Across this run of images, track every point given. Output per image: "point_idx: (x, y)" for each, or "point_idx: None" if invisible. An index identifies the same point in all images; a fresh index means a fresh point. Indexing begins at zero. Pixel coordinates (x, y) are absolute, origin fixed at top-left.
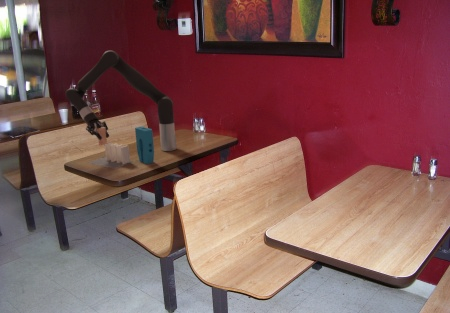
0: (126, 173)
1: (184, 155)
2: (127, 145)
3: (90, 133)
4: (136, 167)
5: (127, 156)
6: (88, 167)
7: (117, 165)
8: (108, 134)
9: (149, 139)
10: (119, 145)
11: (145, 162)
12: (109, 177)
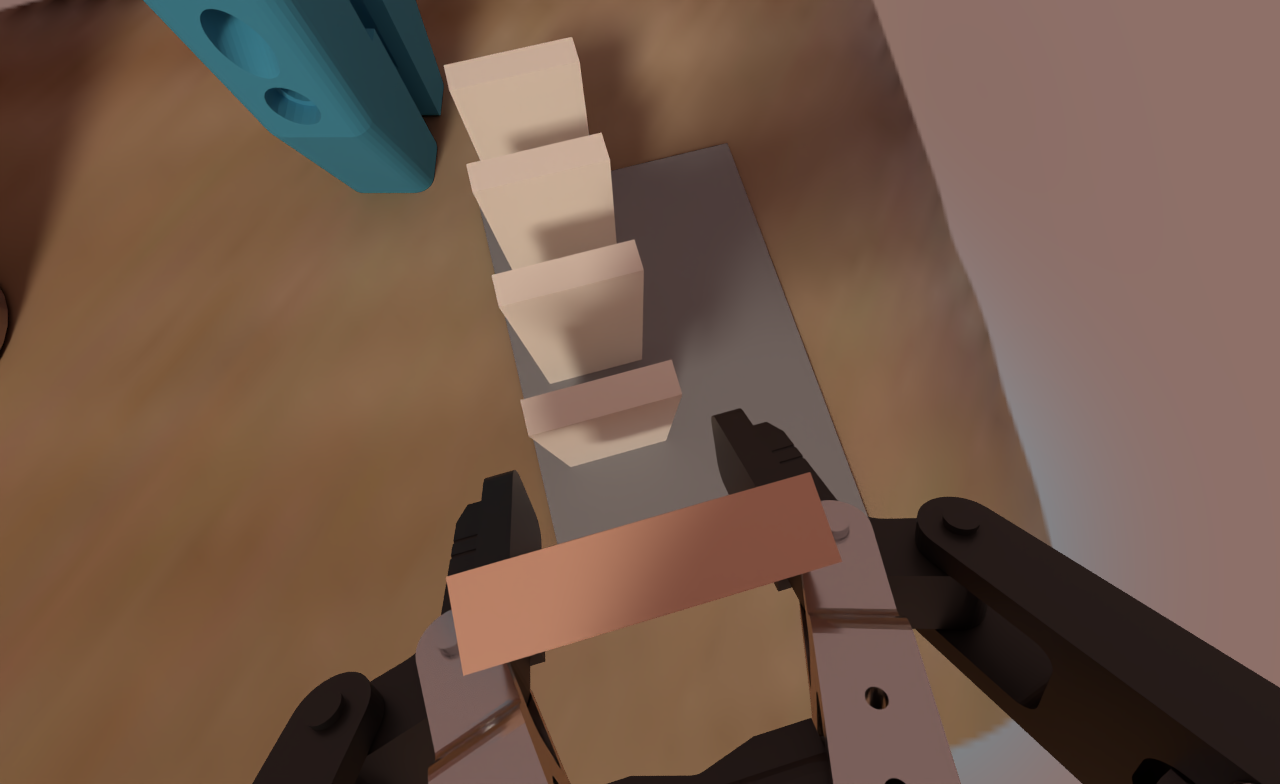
0: (693, 5)
1: (31, 66)
2: (455, 71)
3: (1027, 641)
4: None
5: None
6: (901, 376)
7: (656, 207)
8: (470, 521)
9: None
10: (537, 151)
11: (436, 70)
12: (843, 13)
